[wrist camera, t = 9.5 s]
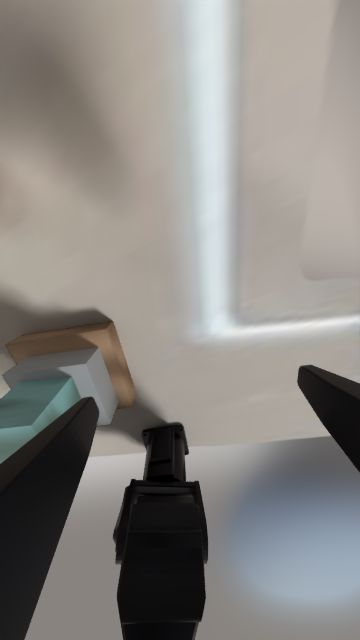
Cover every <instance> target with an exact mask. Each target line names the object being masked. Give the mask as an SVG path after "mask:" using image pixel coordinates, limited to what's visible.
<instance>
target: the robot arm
mask: <svg viewBox="0 0 360 640" xmlns="http://www.w3.org/2000/svg"><path fill="white" fill-rule="evenodd" d="M297 382H298V386H299V388H300V389H301V391H302V393H303V394H304V396H305V397H306V399H307V400H308V402H309V404H310V405H311V407H312V408H313V410H314V411H315V413H316V415H317V416H318V418H319V419H320V421H321V422H322V424H323V425H324V426H325V428H326V429H327V430H328V432H329V433H330V434H331V436H332V437H333V438H334V439H335V441H336V442H337V443H338V445H339V446H340V447H341V449H342V450H343V451H344V453H345V454H346V455H347V456H348V458H349V459H350V460H351V462H352V463H353V464H354V466H355V467H356V468H357V470H358V471H359V472H360V383H357V382H354V381H352V380H349V379H347V378H344V377H341V376H339V375H336V374H334V373H331V372H328V371H326V370H323V369H321V368H318V367H315V366H313V365H304V366H300V367H299V371H298V380H297ZM98 418H99V408H98V406H97V404H96V402H95V399H94V398H93V397H84V398H82V399H80V400H79V401H78V402H77V403H75V404H74V405H73V406H72V407H70V408H69V409H68V410H67V411H65V412H64V413H63V414H62V415H60V416H59V417H58V418H57V419H55V420H54V421H53V422H52V423H50V424H49V425H48V426H47V427H45V428H44V429H43V430H42V431H40V432H39V433H38V434H37V435H35V436H34V437H33V438H32V439H31V440H29V441H28V442H27V443H26V444H24V445H23V446H22V447H21V448H19V449H18V450H17V451H16V452H14V453H13V454H12V455H11V456H9V457H8V458H7V459H6V460H4V461H3V462H2V463H1V464H0V640H24V639H25V636H26V633H27V631H28V628H29V625H30V622H31V619H32V616H33V613H34V611H35V608H36V605H37V602H38V599H39V596H40V593H41V591H42V588H43V585H44V582H45V579H46V576H47V573H48V570H49V568H50V565H51V562H52V559H53V556H54V553H55V551H56V548H57V545H58V542H59V539H60V536H61V534H62V531H63V528H64V525H65V522H66V519H67V517H68V514H69V511H70V508H71V505H72V502H73V499H74V497H75V493H76V491H77V488H78V485H79V482H80V479H81V476H82V474H83V471H84V468H85V465H86V462H87V459H88V456H89V453H90V450H91V446H92V442H93V438H94V434H95V430H96V426H97V422H98ZM142 437H143V440H144V443H145V446H146V449H147V454H146V461H145V468H144V476H143V480H135V479H131V483H130V485H129V486H128V487H126V488H125V493H124V498H123V503H122V506H121V510H120V513H119V517H118V520H117V523H116V526H115V529H114V534H113V540H114V542H115V544H116V564H121V571H120V578H119V584H118V590H117V602H118V609H119V615H120V621H121V628H122V634H123V640H195V636H196V632H197V627H198V623H199V622H201V620H202V616H203V610H204V605H205V599H206V596H205V595H206V594H205V577H204V564H206V563H207V560H208V535H207V525H206V518H205V512H204V507H203V501H202V496H201V490H200V485H199V481H194V482H186V472H185V455H188V454H189V450H188V445H187V440H186V435H185V431H184V427H183V426H182V425H178V426H170V427H163V428H156V429H149V430H143V431H142Z"/></svg>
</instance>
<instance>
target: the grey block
mask: <svg viewBox="0 0 360 640" xmlns="http://www.w3.org/2000/svg"><path fill="white" fill-rule="evenodd" d="M2 376H3V378H4V379H5V381H6V382H7V384H8V386H9V387H10V389H11V390H12V389H13V388H14V387H15V386H16V385H17V384H19V383H20V382H26V381H35V380H44V379H52V378H61V377H70V376H72V378H73V380H74V382H75V385H76V387H77V389H78V392H79V394H80V396H81V399H82V398H84V397H93V398H94V399H95V402H96V404H97V406H98V408H99V418H98V422H97V426H100V425H108V424H111V421H112V419H113V416H114V413H115V410H116V408H117V405H118V399H117V396H116V393H115V391H114V388H113V385H112V382H111V379H110V377H109V374H108V371H107V368H106V365H105V363H104V360H103V357H102V354H101V351H100V349H99V347H96V348H89V349H82V350H74V351H67V352H60V353H53V354H46V355H38V356H31V357H27V358H25V359H24V360H22V361H21V362H20V363H18V364H17V365H15V366H14V367H13V368H11V369H10V370H8V371H7V372H6V373H4V374H3V375H2Z"/></svg>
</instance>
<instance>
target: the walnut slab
mask: <svg viewBox="0 0 360 640" xmlns="http://www.w3.org/2000/svg"><path fill="white" fill-rule="evenodd" d="M5 346H6V348H7V349H8V351H9V353H10V354H11V356H12V358H13V359H14V361H15V363H16V364H18V363H20V362H21V361H22V360H24V359H25V358H27V357H31V356H38V355H46V354H53V353H60V352H67V351H74V350H82V349H89V348H96V347H99V349H100V351H101V354H102V357H103V360H104V363H105V365H106V368H107V371H108V374H109V377H110V379H111V382H112V385H113V388H114V391H115V393H116V396H117V399H118V405H117V408H116V409H120V408H127V407H133V403H134V400H135V396H136V391H135V387H134V384H133V381H132V378H131V375H130V372H129V369H128V366H127V363H126V359H125V356H124V353H123V350H122V347H121V344H120V341H119V338H118V335H117V331H116V328H115V325H114V322H113V321H111V322H104V323H98V324H91V325H85V326H79V327H72V328H66V329H60V330H53V331H47V332H41V333H34V334H28V335H22V336H21V337H19V338H17V339H15V340H13V341H11V342H10V343H8V344H6V345H5Z"/></svg>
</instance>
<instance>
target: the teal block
mask: <svg viewBox="0 0 360 640" xmlns="http://www.w3.org/2000/svg"><path fill="white" fill-rule="evenodd" d="M80 399H81V396H80V394H79V392H78V389H77V387H76V385H75V382H74V380H73V378H72V376H70V377H61V378H52V379H44V380H35V381H26V382H20V383H19V384H17V385H16V386H15V387H14V388H13V389H12V390H10V391H9V392H8V393H7V394H6V395H4V396H3V397H2V398H1V399H0V464H1V463H2V462H3V461H4V460H6V459H7V458H8V457H9V456H11V455H12V454H13V453H14V452H16V451H17V450H18V449H19V448H21V447H22V446H23V445H24V444H26V443H27V442H28V441H29V440H31V439H32V438H33V437H34V436H35V435H37V434H38V433H39V432H40V431H42V430H43V429H44V428H45V427H47V426H48V425H49V424H50V423H52V422H53V421H54V420H55V419H57V418H58V417H59V416H60V415H62V414H63V413H64V412H65V411H67V410H68V409H69V408H70V407H72V406H73V405H74V404H75V403H77V402H78V401H79V400H80Z"/></svg>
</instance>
